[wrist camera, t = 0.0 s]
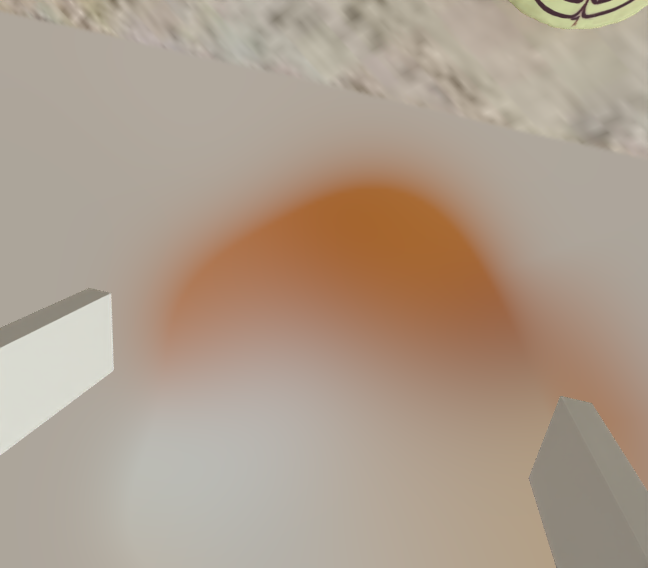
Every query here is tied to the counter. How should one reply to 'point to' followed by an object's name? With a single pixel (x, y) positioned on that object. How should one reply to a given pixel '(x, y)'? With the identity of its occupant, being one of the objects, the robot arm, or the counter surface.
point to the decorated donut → (579, 11)
